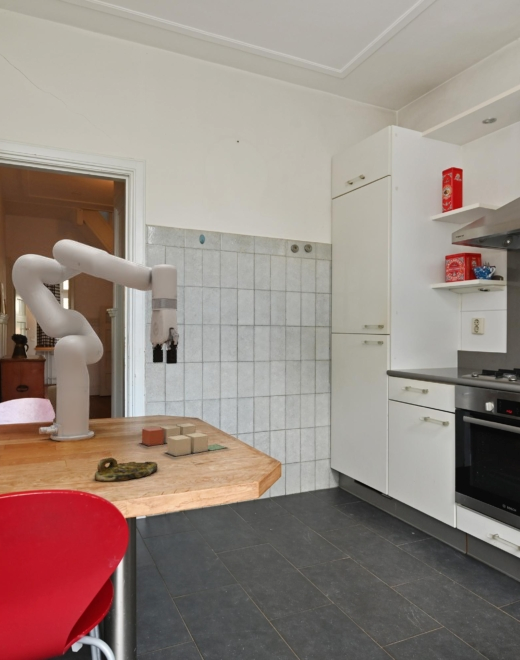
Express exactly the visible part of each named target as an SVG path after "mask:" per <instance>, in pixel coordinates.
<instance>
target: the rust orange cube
mask: <svg viewBox="0 0 520 660" xmlns="http://www.w3.org/2000/svg"><path fill="white" fill-rule="evenodd" d="M141 443H143V444H145V445H148V446H152V445H158V446H160V445H159V444H163V429H161V428H159V427H157V426H153V427H146V428H142V429H141ZM152 447H153V446H152Z"/></svg>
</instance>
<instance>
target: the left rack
mask: <svg viewBox="0 0 520 660" xmlns="http://www.w3.org/2000/svg"><path fill="white" fill-rule="evenodd" d="M158 428H161V429H163V444H159V445H152V446H148V445H145V444H143V443H142V442H138V444H139V445H140V446H141V445H142V446H144V447H146V448H151V447H158V446H165V445H167V442H168V437H172V436H179V435H183V436H186V435H187V434H194V433H197V425H196V424H192V423H190V422H188V423H178V424H175V425H173V424H170V425H163V426H162V425H161V426H159V427H158Z"/></svg>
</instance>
